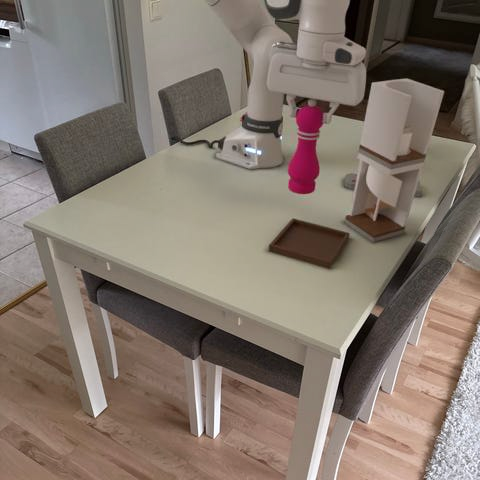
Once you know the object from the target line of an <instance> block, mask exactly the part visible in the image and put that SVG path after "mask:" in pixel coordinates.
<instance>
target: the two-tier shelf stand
mask: <svg viewBox="0 0 480 480" xmlns="http://www.w3.org/2000/svg"><path fill="white" fill-rule="evenodd" d="M444 94H445V90H443V89H440V88H436V87H434V86H431V85H427V84H425V83H421V82H419V81H415V80H413V79H410V78H399V79H389V80H383V81H375V82H371V86H370V90H369V96H368V100H367V105H366V111H365V116H364V122H363V127H362V131H361V136H360V142H359V147H358V152H357V158H356V159H358V160H359V164H358V169H357V173H356V174H357V179H356V184H355V189H353V194H352V199H351V204H350V209H349V214H346V215H345V217H344V224H346V225H347V226H349V227H350V228H352V229H353V230H355V231H356V232H357V233H359V234H360V235H362V236H363V237H364V238H366V239H368V240H369V241H370V242H372V243H375V242H379V241H383V240H385V239H388V238H392V237H397V236H399V235H402V234H404V233H405V230H406V226H407V222H408V219H409V217H410V214H411V213H410V212H411V208H412V206H413V201H414V199H415V196H414V195H415V192H416V188H417V185H418V181H419V182H420V177H421V174H422V171H423V167H424V163H425V160H426V156H427V153H428V150H429V145H430V143H431V140H432V136H433V132H434V128H435V125H436V123H437V122H436V121H437V119H438V115H439V111H440V108H441V104H442V101H443V98H444Z"/></svg>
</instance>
